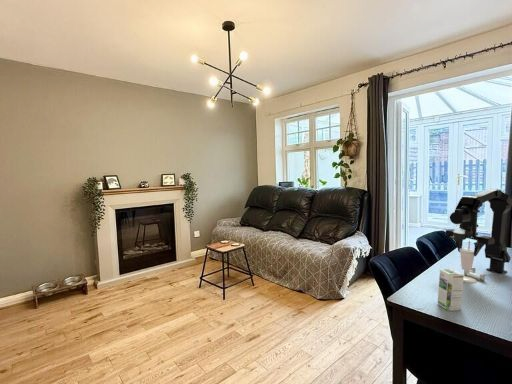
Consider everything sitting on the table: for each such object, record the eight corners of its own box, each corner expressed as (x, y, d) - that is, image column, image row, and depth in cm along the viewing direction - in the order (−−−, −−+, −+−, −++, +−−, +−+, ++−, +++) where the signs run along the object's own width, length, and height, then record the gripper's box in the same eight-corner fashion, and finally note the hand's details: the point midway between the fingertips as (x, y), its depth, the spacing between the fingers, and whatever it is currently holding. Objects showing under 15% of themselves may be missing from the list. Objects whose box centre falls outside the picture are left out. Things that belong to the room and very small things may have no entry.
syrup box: (436, 303, 110) (438, 269, 109) (450, 303, 111) (452, 268, 109) (447, 311, 105) (450, 274, 103) (462, 310, 105) (464, 274, 104)
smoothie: (477, 272, 129) (479, 243, 127) (462, 271, 130) (464, 242, 129) (470, 267, 135) (471, 239, 134) (455, 266, 136) (457, 238, 135)
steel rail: (471, 272, 141) (472, 267, 141) (492, 279, 133) (492, 273, 133) (463, 275, 138) (463, 269, 138) (483, 281, 130) (483, 275, 130)
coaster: (462, 275, 138) (462, 274, 138) (480, 281, 131) (480, 280, 131) (452, 278, 135) (452, 277, 135) (470, 284, 128) (470, 283, 128)
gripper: (438, 220, 136) (436, 250, 137) (481, 227, 119) (479, 262, 120) (452, 218, 140) (451, 247, 142) (496, 225, 123) (494, 259, 125)
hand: (467, 254), depth 132 cm, fingers closed on smoothie, 6 cm apart
